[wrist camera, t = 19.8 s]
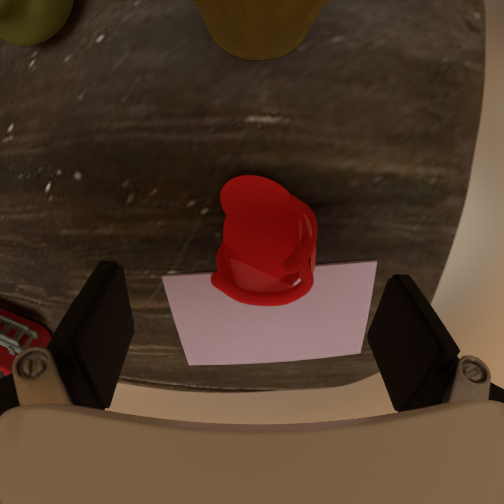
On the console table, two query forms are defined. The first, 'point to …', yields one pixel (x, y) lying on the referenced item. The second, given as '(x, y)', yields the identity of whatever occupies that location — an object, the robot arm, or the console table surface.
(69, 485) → the robot arm
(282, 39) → the vase
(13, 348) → the toy
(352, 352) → the cloth
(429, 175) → the console table surface
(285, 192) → the cap
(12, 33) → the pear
